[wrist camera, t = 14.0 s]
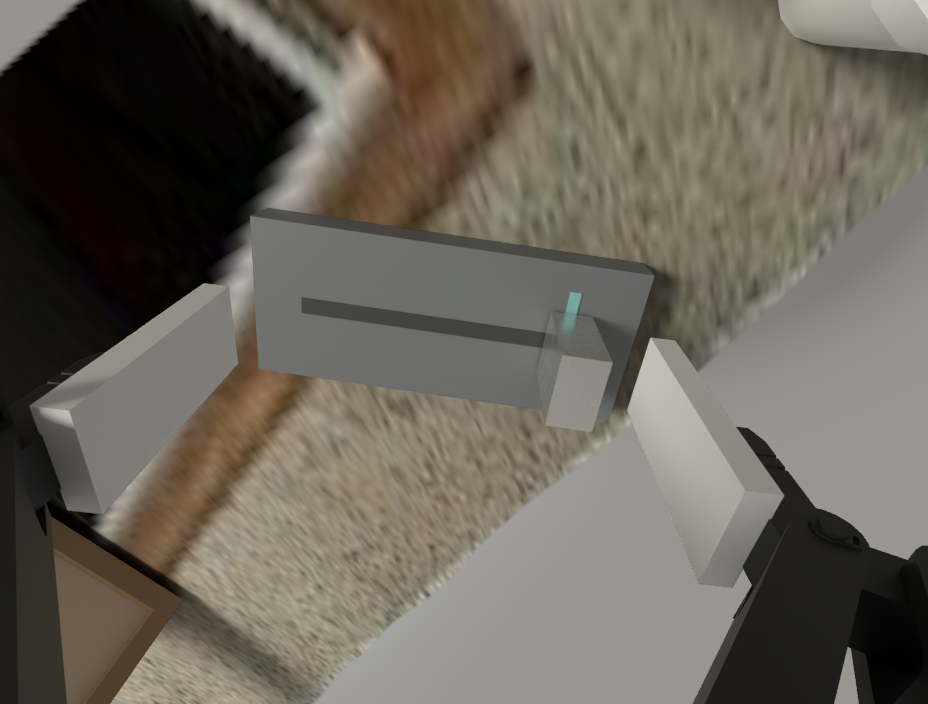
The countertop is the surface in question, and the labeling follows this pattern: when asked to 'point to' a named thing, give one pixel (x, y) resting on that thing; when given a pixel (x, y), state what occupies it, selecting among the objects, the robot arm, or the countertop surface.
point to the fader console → (429, 307)
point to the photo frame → (103, 616)
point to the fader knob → (572, 371)
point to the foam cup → (859, 23)
